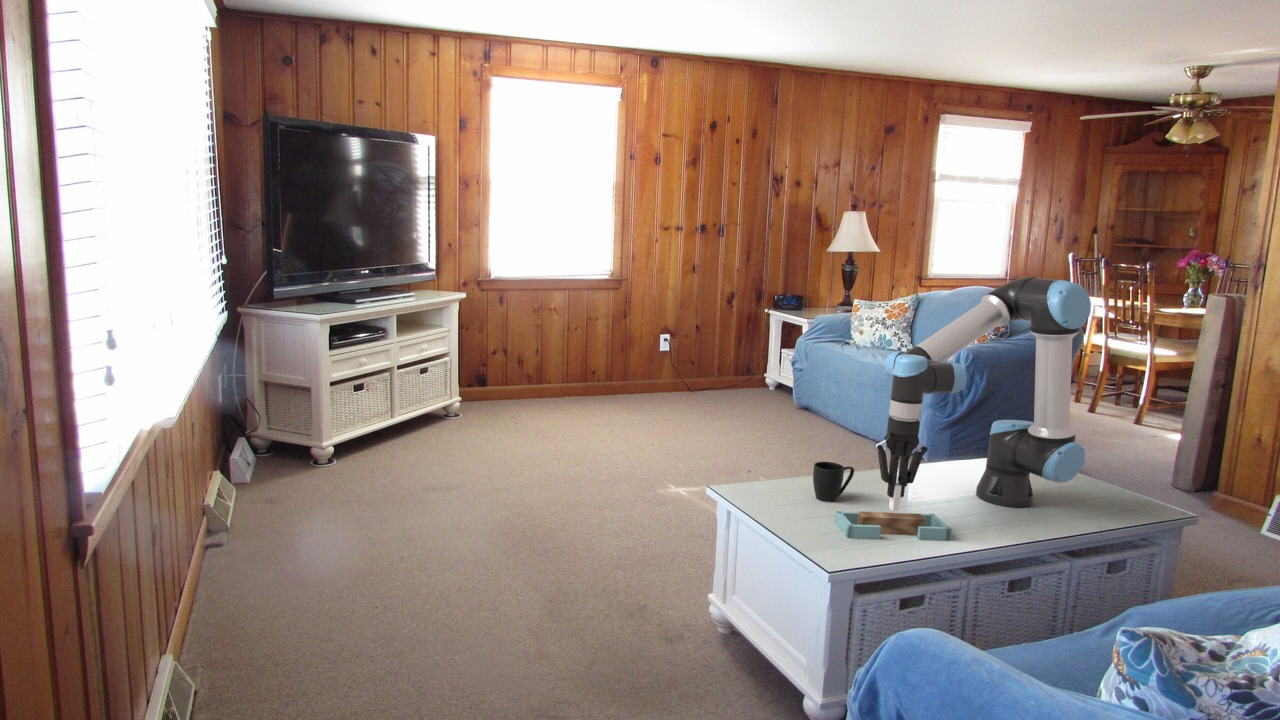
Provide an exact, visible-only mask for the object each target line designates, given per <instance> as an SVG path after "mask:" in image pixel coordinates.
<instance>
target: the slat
mask: <svg viewBox="0 0 1280 720" xmlns="http://www.w3.org/2000/svg"><path fill="white" fill-rule="evenodd" d="M857 512H858V519H857V525H879V526H880V527H881V530H880V535H898V536H899V535H900V536H901V535H902V536H917V534H918V526H926V519H925V518H924V517H923V516H922V515H921V514H922V513H916V514H912V513H910V512H909V513H907V512H905V513H904V512H888V511H886V512H884V511H883V512H882V511H857Z"/></svg>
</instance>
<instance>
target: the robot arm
mask: <svg viewBox="0 0 1280 720" xmlns="http://www.w3.org/2000/svg"><path fill="white" fill-rule="evenodd" d="M1091 312H1092V302H1091V297H1090V295H1089V292H1087V290H1086V288H1084V287H1083V286H1082V285H1081V284H1079V283H1077V282H1073V281H1069V280H1065V279H1056V278H1055V279H1054V278H1043V277H1037V276H1024V277H1019V278H1017V279H1016V278H1015V279H1014V280H1011V281H1009V282H1007V283H1004V284H1002V285H1000V286H998V287H997V288H994V289H993V290H991V291H990V292H989V293H986V294H985V295H984V296H983V297H981V300H980V303H978V304H977V305H975V306H973V307H972V308H971V309H969V310H968V311H967V312H965V313H963V314H962V315H960V316H959V317H958V318H956V319H954V320H953V321H952V322H950V323H948V324H947V325H945V326H944V327H943V328H941V329H939V330H938V331H936V332H934V333H933V334H932V335H931V336H929V337H927V338H925V340H924V339H923V341H922V342H920V343H918V344H916V345H915V346H913V347H911V348H910V349H909V350H907V351H894V352H892V353H890V354H889V355H888V356H887V358H886V359H885V362H884V370H885V373H886V375H887V376H888V377H889V378H891V379H892V383H891V392H890V393H891V394H890V399H889V400H890V403H889V410H888V414H889V417H888V418H887V426H886V427H887V428H886V435H885V436H884V440H882V441H880V442H875V443H874V448H875V449H876V451H877V455H878V456H877V457H878V463H879V465H878V466H879V471H880V472H879V473H880V478H881V480H882V481H883V482H884V483H887V492H886V494H887V496H888V497H889V504H888V508H889V509H890V510H891V511H893V512H899V511H900V504H901V503H900V502H901V498H904V496H905V489H906V487H907V486H908V485H909V484H913V483H914V481H915V479H916V476H917V472H918V470H919V468H920V466H921V462H922V459H923V457H924V455H925V454H926V453H927V451H928V447H927V446H925V445H924V444H921V442H920V438H919V435H920V426H921V421H920V419H921V417H922V410H923V409H922V408H923V403H924V395H926V394H927V395H930V394H935V395H936V394H939V395H940V394H948V395H949V394H956V393H959V392H962V390H963V389H965V387H966V385H967V378H968V374H967V371H966V369H965V368H964V366H962V365H961V364H960V363H957V362H956V363H954V362H953V363H952V362H950V361H949V362H946V361H947V360H949V359H950V358H952V357H953V356H955V355H956V354H957V353H959V352H961V351H962V350H964V349H965V348H967V347H969V346H970V345H971V344H972V343H974V342H976V341H977V340H979V339H981V337H983V336H985V335H986V334H987V333H990V331H992V330H994V329H995V328H996V327H1004V326H1006V325H1008V324H1009V323H1011V322H1014V321H1020V320H1021V321H1027V322H1029V333H1031V334H1032V335H1033V336H1034V337H1035V369H1034V370H1035V373H1034V374H1035V375H1034V405H1033V406H1034V408H1033V410H1034V412H1033V413H1034V415H1033V421H1030V420H1029V421H1028V420H1023V419H1022V420H1021V419H1019V420H1018V419H999V420H995V421H994V422H993V423H992V424H991V429H990V433H989V438H988V446H987V447H988V448H987V456H986V464H985V465H986V466H985V469H984V472H983V474H982V476H981V477H980V480H979V482H978V483H977V485H976V490H975V495H976V496H977V497H978V498H979V499H980V500H983V501H985V502H987V503H991V504H994V505H998V506H1003V507H1009V508H1026V507H1030V506H1032V505H1033V502H1034V492H1033V488H1032V483H1031V478H1030V475H1031V474H1033V475H1035V476H1038V477H1040V478H1042V479H1044V480H1046V481H1052V482H1055V483H1059V484H1061V483H1062V484H1063V483H1066V482H1067V483H1068V482H1069V481H1071V480H1072V479H1074V478H1075V477H1076V476H1077V475H1078V473H1079V472H1081V470H1082V468H1083V466H1084V464H1085V460H1086V452H1085V449H1084V447H1083V446H1082V445H1081V444H1080V443H1079V442H1076V433H1077V432H1076V430H1075V429H1074V428H1073V427H1072V426H1071V425H1070V420H1071V419H1070V416H1071V413H1070V412H1071V392H1072V391H1071V388H1072V387H1071V386H1072V365H1073V364H1072V363H1073V362H1072V356H1073V339H1074V338H1075V336H1076V335H1078V334H1079V333H1080V328H1081V327H1083V326H1084V325H1085V324H1086V323H1087V321H1088V319H1087V318H1089V317H1090V315H1091ZM887 448H888V450H889V451H890V452H889V457H890V458H889V460H890V461H889V464H888V459H887V453H886V451H887ZM914 450H915V451H914ZM913 451H914V452H913ZM912 452H913V455H912V454H911V453H912ZM911 455H912V458H911ZM910 459H911V461H910ZM909 462H910V464H909ZM888 465H889V466H888Z"/></svg>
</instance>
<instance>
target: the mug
mask: <svg viewBox="0 0 1280 720" xmlns="http://www.w3.org/2000/svg"><path fill="white" fill-rule="evenodd" d="M846 470H850V471H849V474H848V476H847V478H846V480H845V482H844V476H845V475H844V473H845V471H846ZM812 473H813V474H812V485H813V490H814V495H815V500H818V501H821V502H824V503H825V502H826V503H834V502H836V501H837V498H838V497H839V496H841V494H842V493H844V492H845V490H846V488H847V486H849V484H850V482H851V481H852V479H853V478H854V477H853V476H854V475H855V474H854V473H855V469H854V467H853V466H850V465H849V466H843V465H842V464H839V463H836V462H831V461H816V462H815V463H813V472H812ZM843 482H844V483H843Z"/></svg>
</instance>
